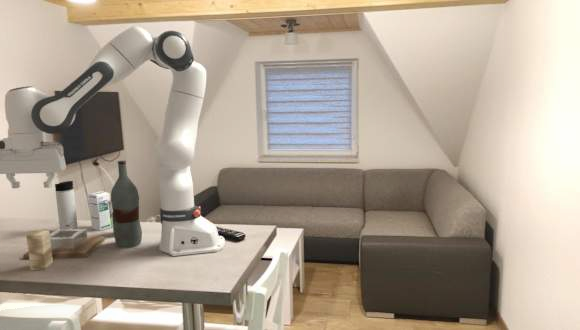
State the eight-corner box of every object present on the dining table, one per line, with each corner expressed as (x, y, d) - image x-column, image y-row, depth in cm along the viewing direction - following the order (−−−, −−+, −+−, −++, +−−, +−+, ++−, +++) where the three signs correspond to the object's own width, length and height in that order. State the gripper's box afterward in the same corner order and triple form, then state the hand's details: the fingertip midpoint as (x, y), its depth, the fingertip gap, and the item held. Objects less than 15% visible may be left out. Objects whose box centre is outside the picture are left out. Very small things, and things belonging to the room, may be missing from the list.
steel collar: (87, 239, 153) (86, 228, 152) (74, 250, 143) (73, 238, 142) (57, 240, 152) (56, 229, 152) (42, 251, 142) (41, 239, 141)
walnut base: (104, 240, 156) (104, 236, 156) (85, 256, 140) (85, 252, 140) (48, 242, 155) (48, 238, 155) (23, 259, 139) (23, 254, 139)
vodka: (110, 248, 147) (102, 163, 142) (121, 239, 156) (114, 159, 151) (137, 248, 147) (129, 163, 142) (146, 239, 156) (140, 158, 151)
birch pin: (53, 263, 135) (49, 230, 133) (45, 269, 131) (41, 235, 129) (38, 264, 135) (34, 230, 133) (30, 269, 131) (26, 235, 129)
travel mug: (71, 233, 164) (65, 183, 161) (56, 232, 166) (50, 182, 162) (82, 228, 170) (77, 179, 167) (67, 227, 172) (62, 179, 168)
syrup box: (100, 231, 167) (96, 195, 164) (91, 228, 170) (87, 193, 167) (113, 227, 171) (109, 192, 169) (104, 225, 174) (100, 190, 172)
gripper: (67, 140, 130) (71, 184, 132) (-2, 141, 129) (4, 186, 131) (57, 142, 124) (62, 189, 126) (-16, 144, 123) (-9, 190, 125)
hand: (32, 187), depth 129 cm, fingers open, 8 cm apart
